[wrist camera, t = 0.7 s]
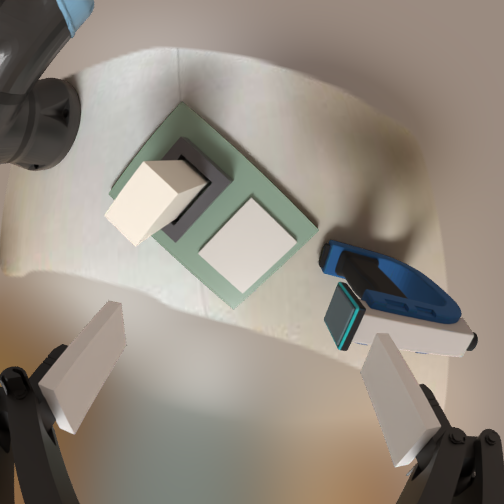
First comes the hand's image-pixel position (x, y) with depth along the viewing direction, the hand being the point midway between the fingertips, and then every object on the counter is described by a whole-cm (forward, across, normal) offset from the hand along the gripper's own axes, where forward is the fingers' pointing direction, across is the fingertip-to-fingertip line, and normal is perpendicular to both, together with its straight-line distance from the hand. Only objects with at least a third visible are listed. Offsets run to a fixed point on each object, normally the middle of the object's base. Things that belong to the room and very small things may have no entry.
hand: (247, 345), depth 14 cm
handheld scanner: (+25, +15, -4) cm, 29 cm away
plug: (+24, -10, +4) cm, 27 cm away
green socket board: (+25, -6, +1) cm, 26 cm away
